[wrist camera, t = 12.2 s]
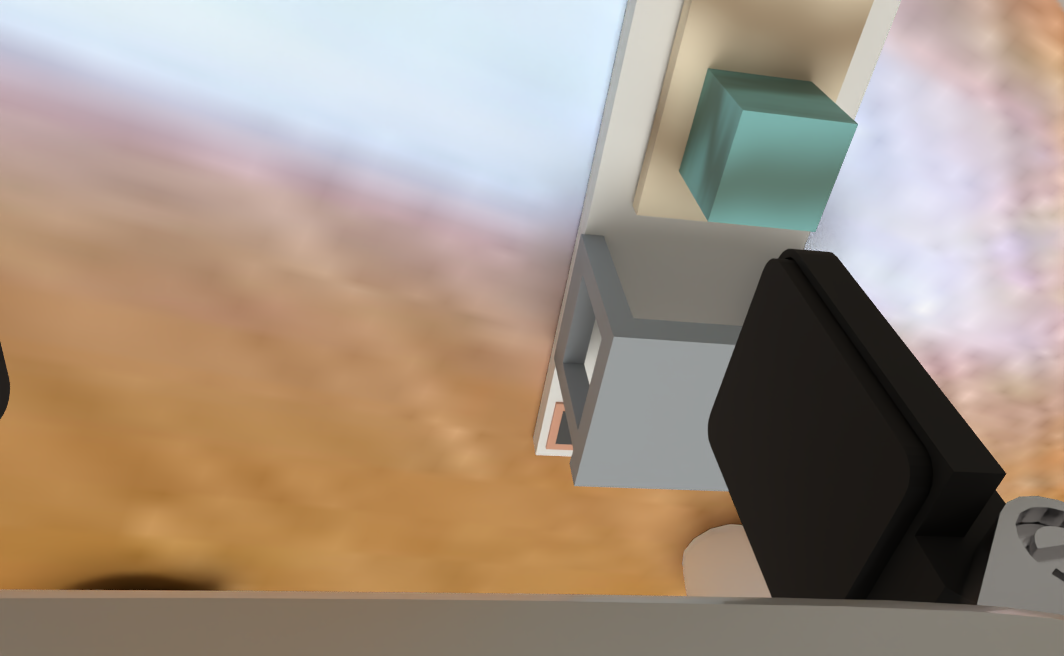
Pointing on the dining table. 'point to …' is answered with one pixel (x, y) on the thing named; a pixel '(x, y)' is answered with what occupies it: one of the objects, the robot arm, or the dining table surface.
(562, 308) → the tunnel board
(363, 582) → the dining table surface
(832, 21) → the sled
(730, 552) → the foam cup
